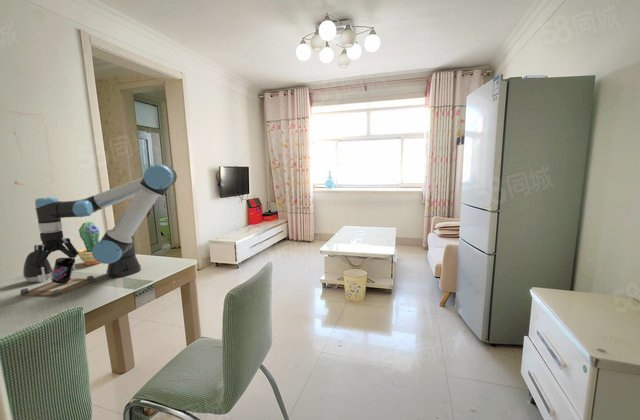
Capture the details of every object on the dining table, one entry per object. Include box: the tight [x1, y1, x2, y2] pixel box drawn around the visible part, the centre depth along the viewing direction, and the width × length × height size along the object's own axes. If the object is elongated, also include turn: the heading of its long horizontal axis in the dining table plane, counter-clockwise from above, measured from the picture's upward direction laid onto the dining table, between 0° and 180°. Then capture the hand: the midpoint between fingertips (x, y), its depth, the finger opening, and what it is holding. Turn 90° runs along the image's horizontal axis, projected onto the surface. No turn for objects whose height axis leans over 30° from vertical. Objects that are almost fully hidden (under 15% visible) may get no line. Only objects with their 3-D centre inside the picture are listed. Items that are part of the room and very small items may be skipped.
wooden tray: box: [19, 275, 95, 297], centre depth 130 cm, size 18×18×2 cm
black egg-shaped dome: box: [22, 251, 53, 283], centre depth 139 cm, size 10×10×15 cm
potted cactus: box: [77, 221, 101, 266], centre depth 165 cm, size 15×15×25 cm
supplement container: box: [51, 257, 76, 283], centre depth 132 cm, size 7×7×10 cm
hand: (58, 275), depth 129 cm, fingers open, 13 cm apart
